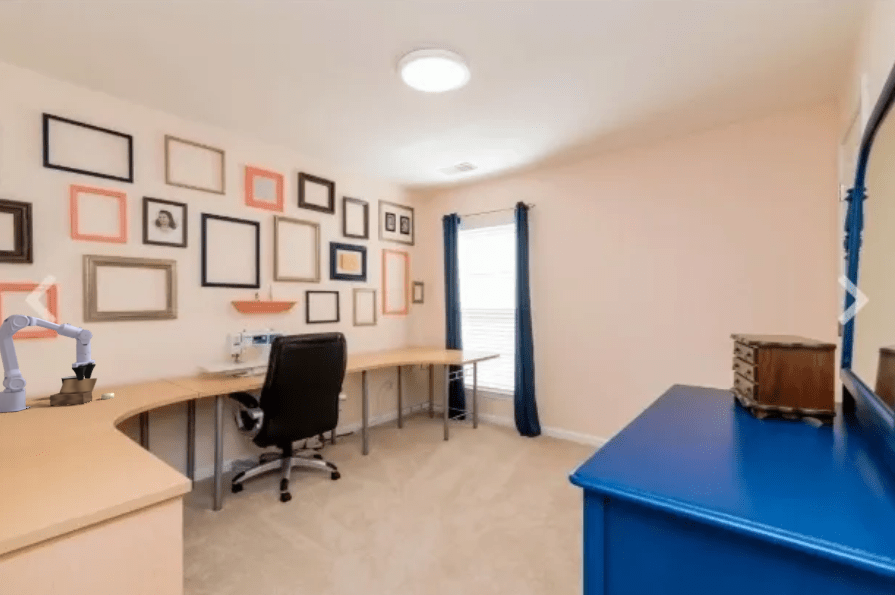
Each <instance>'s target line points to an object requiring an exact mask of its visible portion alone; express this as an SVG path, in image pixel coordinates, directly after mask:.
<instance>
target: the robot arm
mask: <svg viewBox="0 0 895 595" xmlns="http://www.w3.org/2000/svg"><path fill="white" fill-rule="evenodd" d="M35 326H37V327H41V328H45V329H48V330H52V331H56V333H57V335H60V336H64V337H66V338H70V339H75V341H76V342H75V343H76V345H75V347H76V348H75V352H76V354H75V356H76V357H75V358H76V359H75V360H76V361H75V362H73V363H71V370H72V371H73V372H74V374H75V376H76V377H77V379H78V381H80V380H83V379H91V377H92V375H93V374H92V373H93V371H94V369H95V367H96V365H97V364H96V359H92V342H91V339H93V335H94V334H92V332H91V330H88V329H83V327H81V326H79V327H77V326H74V325H72V323H69V322H68V323H61V324H57V323H56V322H52V321H49V320H46V319H42V318H39V317H36V316H31V315H30V316H29V315H25V314H11V315H9V316H8V317H7V318H4V320H3V322H2V324H1V325H0V358H1V361H2V366H3V371H4V372H3V377H4V378H3V380H2V385H3V388H4V390H2V391H0V413H10V412H11V413H12V412H20V411H23V410H26V408H27V409H29V407H30V408H31V407H32V406H28V405H27V406H26V400H27V399H26V393H27V392H26V391H27V390H26V386H27V380H26V379H25V378H24V377H23V375H22V372H21V370H20V366H19V362H18V357H17V352H16V347H15V343H14V339H13V336H14V335H15V334H16V333H18V331H20V330H22V329H24V328H26V327H35Z"/></svg>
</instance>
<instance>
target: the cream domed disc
mask: <svg viewBox="0 0 895 595" xmlns="http://www.w3.org/2000/svg"><path fill="white" fill-rule="evenodd" d="M100 397H101V398H100V399H101V400H103V399H104V400H111V399H110V398H112V399H114V398H115V393H114V392H108V393H107V392H105V393H102V394H101V396H100Z"/></svg>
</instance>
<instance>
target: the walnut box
mask: <svg viewBox="0 0 895 595" xmlns="http://www.w3.org/2000/svg"><path fill="white" fill-rule="evenodd" d="M90 401H91V402H93V391H86V392H65V393H60V392H58V393H55V394H51V395H50V396H49V405H60V406H68V405H67V404H79V405H85V404H84V403H86V404H88V403H91V402H90ZM87 402H88V403H87Z"/></svg>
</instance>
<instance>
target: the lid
mask: <svg viewBox="0 0 895 595" xmlns="http://www.w3.org/2000/svg"><path fill="white" fill-rule="evenodd" d="M97 380H98V378H97V377H96V378H95V377H94V378H93V377H92V378H90V379H85V378H84V379H83V380H80V381H78V379H68V380H64V382H63V385H62V384H61V388H60V390H59V393H65V392H86V391H92V392H93V391H94V389H95V386H96V384H97Z"/></svg>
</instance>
